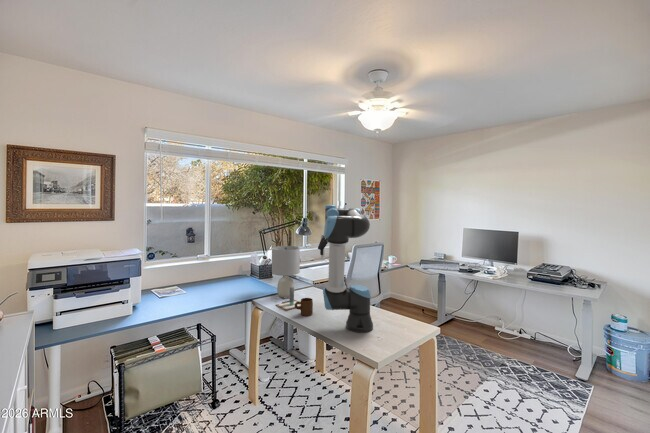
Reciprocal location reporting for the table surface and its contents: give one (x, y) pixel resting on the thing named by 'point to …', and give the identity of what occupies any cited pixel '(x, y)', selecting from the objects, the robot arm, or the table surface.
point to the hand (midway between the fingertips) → (330, 258)
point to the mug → (305, 306)
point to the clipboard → (287, 305)
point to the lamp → (285, 267)
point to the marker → (291, 296)
